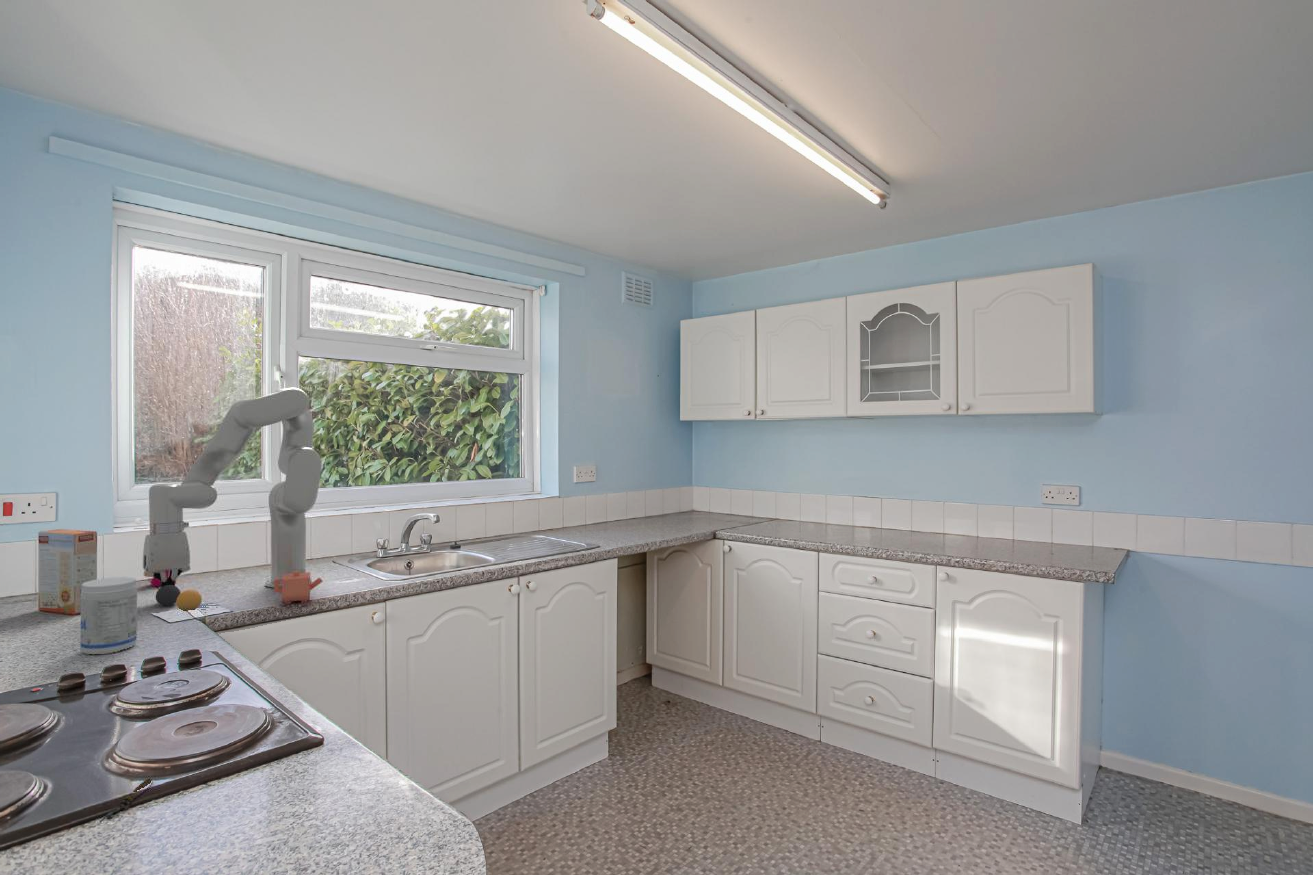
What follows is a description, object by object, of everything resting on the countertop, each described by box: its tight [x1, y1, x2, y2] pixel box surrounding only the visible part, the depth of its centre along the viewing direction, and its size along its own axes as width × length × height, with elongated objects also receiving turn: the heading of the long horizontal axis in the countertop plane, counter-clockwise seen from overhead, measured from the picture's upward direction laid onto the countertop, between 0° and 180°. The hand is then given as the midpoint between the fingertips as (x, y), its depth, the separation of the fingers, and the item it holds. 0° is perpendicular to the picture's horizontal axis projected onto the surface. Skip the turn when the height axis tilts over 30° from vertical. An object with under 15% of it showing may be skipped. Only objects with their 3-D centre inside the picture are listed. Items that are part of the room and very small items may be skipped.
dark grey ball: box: [155, 585, 182, 607], centre depth 184 cm, size 6×6×6 cm
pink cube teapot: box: [273, 571, 323, 605], centre depth 190 cm, size 8×12×8 cm, turn 116°
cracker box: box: [37, 528, 98, 616], centre depth 179 cm, size 14×6×21 cm, turn 71°
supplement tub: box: [80, 576, 138, 656], centre depth 148 cm, size 10×10×15 cm
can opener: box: [99, 778, 153, 823], centre depth 87 cm, size 9×2×1 cm, turn 3°
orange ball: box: [175, 589, 203, 611], centre depth 179 cm, size 6×6×6 cm
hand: (167, 594), depth 189 cm, fingers closed
